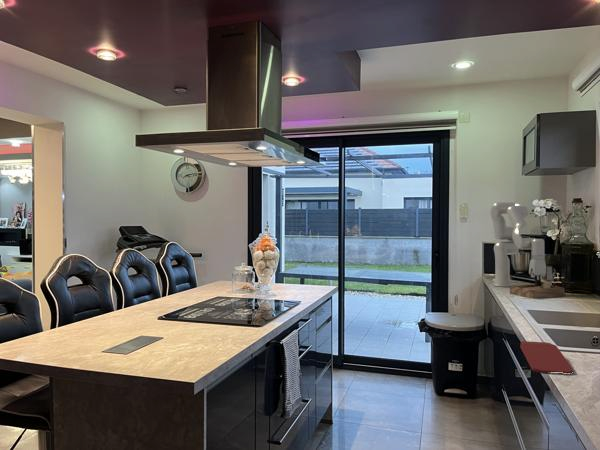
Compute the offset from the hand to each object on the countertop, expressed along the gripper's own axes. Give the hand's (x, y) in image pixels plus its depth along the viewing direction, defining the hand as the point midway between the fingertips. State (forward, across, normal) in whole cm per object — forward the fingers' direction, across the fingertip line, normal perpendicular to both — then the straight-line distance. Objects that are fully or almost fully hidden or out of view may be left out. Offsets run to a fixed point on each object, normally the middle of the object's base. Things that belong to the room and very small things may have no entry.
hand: (537, 286), depth 296 cm
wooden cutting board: (+5, +5, +4) cm, 8 cm away
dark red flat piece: (+6, +108, +105) cm, 151 cm away
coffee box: (+5, -15, -9) cm, 19 cm away
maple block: (+1, -5, +1) cm, 5 cm away
